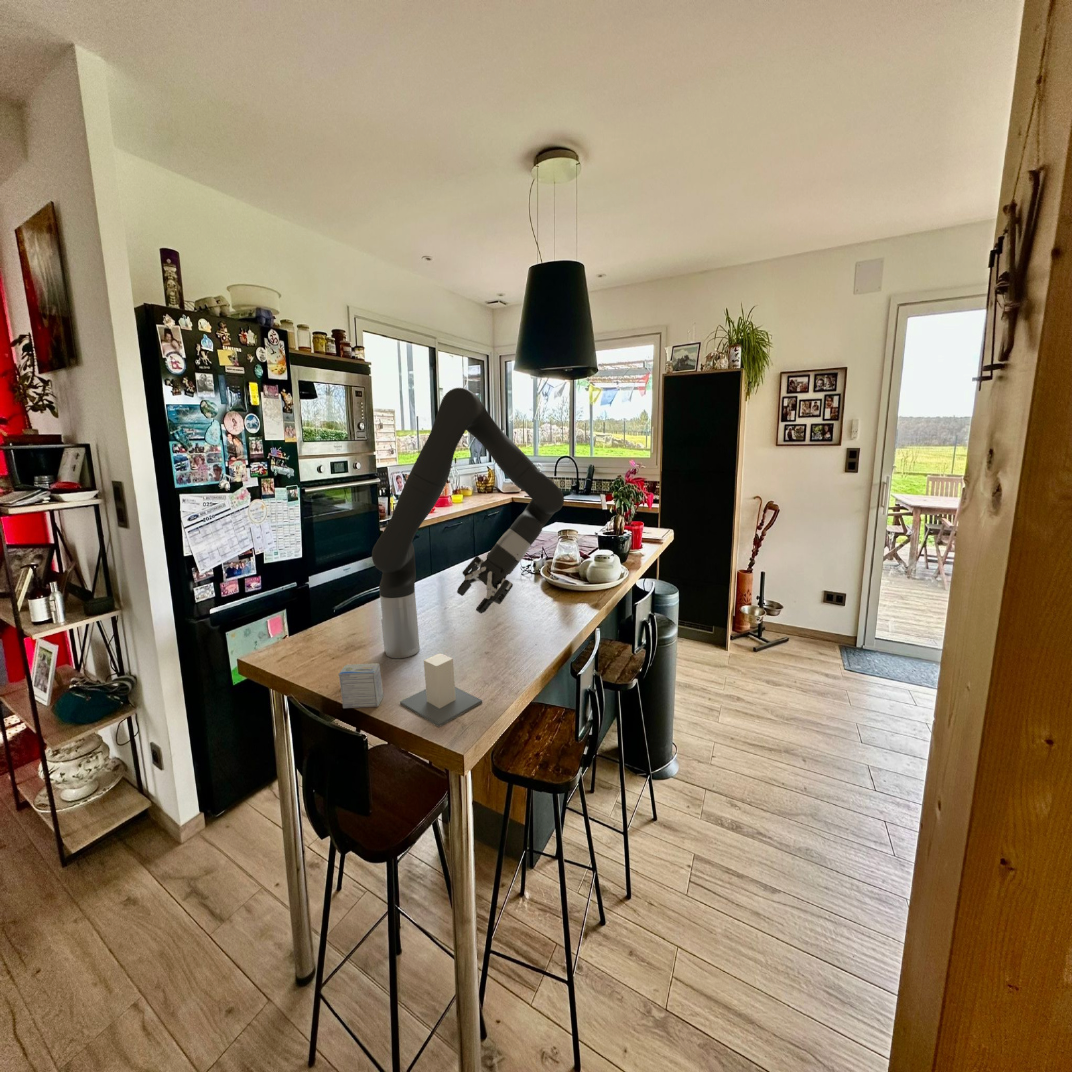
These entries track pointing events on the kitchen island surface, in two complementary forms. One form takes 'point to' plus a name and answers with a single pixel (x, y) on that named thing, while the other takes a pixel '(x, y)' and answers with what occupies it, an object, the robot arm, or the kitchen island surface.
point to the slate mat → (445, 713)
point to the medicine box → (361, 685)
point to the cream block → (439, 680)
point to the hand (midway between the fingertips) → (468, 602)
